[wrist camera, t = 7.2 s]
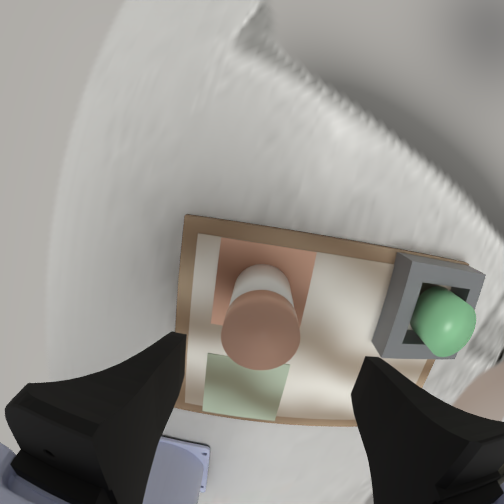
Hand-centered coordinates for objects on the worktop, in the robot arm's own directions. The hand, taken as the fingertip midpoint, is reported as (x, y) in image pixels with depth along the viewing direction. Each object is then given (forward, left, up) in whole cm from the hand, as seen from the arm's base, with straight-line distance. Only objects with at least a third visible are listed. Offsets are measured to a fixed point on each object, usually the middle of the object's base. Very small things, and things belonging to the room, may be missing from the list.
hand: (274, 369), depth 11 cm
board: (-4, -4, -9) cm, 11 cm away
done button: (0, -12, -7) cm, 14 cm away
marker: (0, +1, -9) cm, 9 cm away
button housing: (0, -11, -9) cm, 15 cm away
